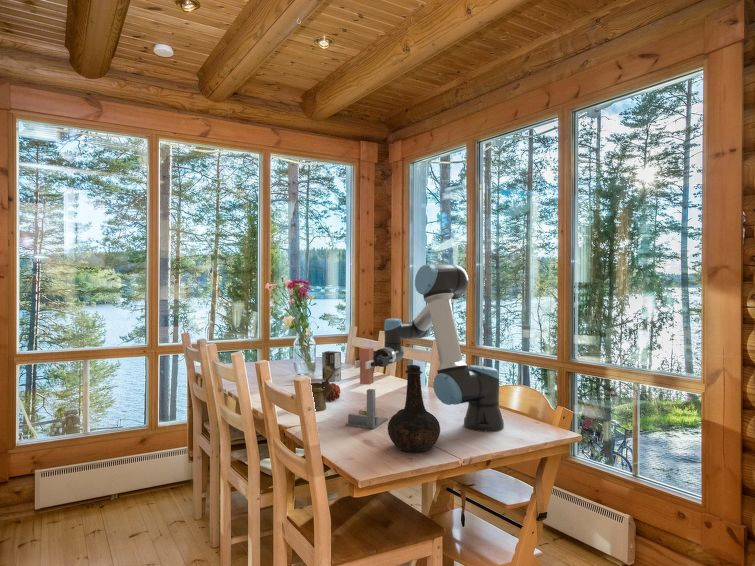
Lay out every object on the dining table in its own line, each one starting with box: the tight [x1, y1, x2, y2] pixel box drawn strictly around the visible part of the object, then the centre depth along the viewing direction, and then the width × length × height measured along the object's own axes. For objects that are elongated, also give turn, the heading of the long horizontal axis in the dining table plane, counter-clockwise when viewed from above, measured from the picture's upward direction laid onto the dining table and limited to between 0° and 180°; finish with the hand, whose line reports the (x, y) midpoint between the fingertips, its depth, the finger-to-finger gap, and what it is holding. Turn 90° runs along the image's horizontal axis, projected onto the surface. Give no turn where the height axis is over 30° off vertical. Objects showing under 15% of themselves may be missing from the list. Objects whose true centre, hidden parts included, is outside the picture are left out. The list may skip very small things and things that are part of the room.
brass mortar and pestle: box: [310, 368, 336, 412], centre depth 229 cm, size 9×14×18 cm, turn 96°
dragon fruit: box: [323, 382, 341, 401], centre depth 247 cm, size 8×8×12 cm
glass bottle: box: [387, 364, 441, 453], centre depth 176 cm, size 18×18×28 cm
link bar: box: [359, 346, 374, 386], centre depth 207 cm, size 4×4×14 cm
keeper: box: [345, 388, 389, 430], centre depth 206 cm, size 15×12×15 cm
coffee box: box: [321, 350, 342, 382], centre depth 294 cm, size 9×6×16 cm
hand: (360, 365), depth 202 cm, fingers closed on link bar, 4 cm apart
